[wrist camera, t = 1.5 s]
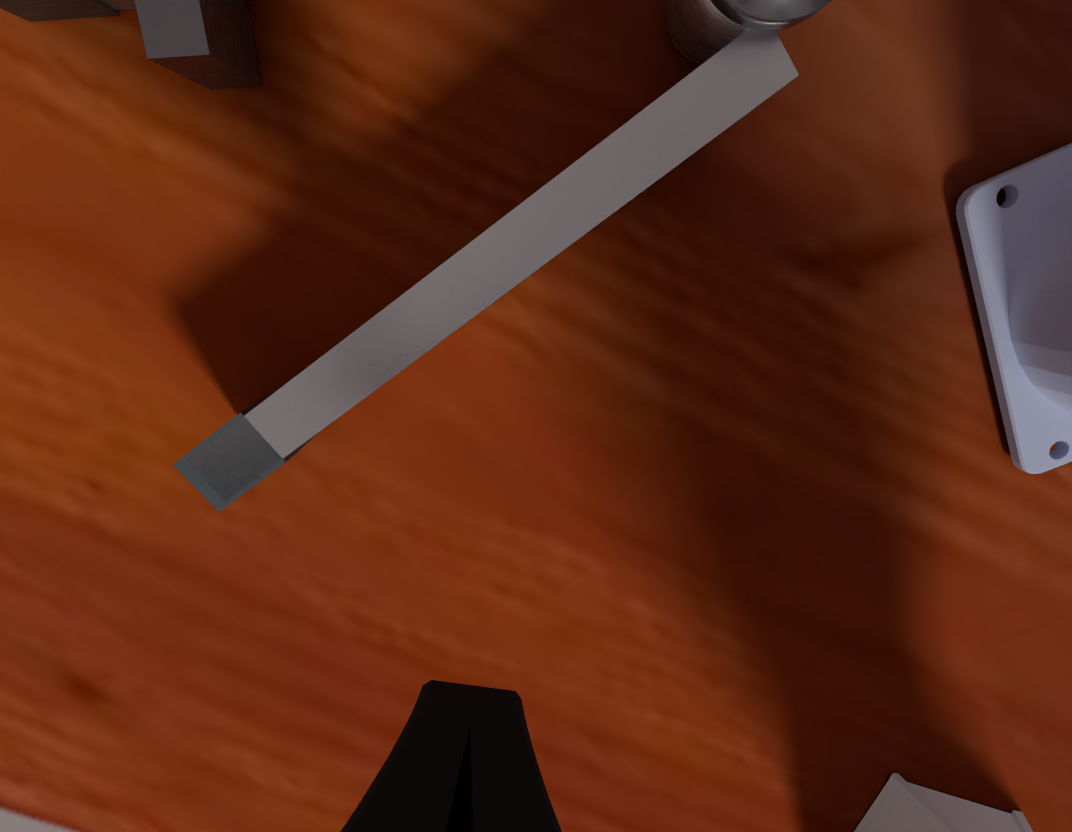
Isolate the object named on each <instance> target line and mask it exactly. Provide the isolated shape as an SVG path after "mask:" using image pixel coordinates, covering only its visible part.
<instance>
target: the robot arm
mask: <svg viewBox="0 0 1072 832" xmlns="http://www.w3.org/2000/svg"><path fill="white" fill-rule="evenodd" d="M1001 188H1004V190H1005V192H1006V199H1005V201H1004V202H1003V204H1002V205H1001V206H999V205H998V203H997V202H996V198H997V194H998V192H999V190H1000V189H1001ZM956 217H957V222H958V226H959V230H960V235H961V239H962V243H963V248H964V252H965V257H966V261H967V265H968V270H969V274H970V279H971V283H972V287H973V292H974V296H975V300H976V305H977V309H978V314H979V318H980V322H981V327H982V331H983V335H984V340H985V344H986V349H987V353H988V357H989V362H990V366H991V371H992V375H993V379H994V384H995V388H996V392H997V397H998V401H999V406H1000V410H1001V414H1002V419H1003V423H1004V428H1005V432H1006V436H1007V441H1008V445H1009V449H1010V454H1011V458H1012V461H1013V463H1014V465H1015V466H1016V467H1018V468H1019V469H1021V470H1023V471H1025V472H1027V473H1031V474H1038V473H1043V472H1045V471H1048V470H1050V469H1053V468H1056V467H1058V466H1061V465H1064V464H1066V463H1069V462H1071V461H1072V143H1070V144H1068V145H1065V146H1063V147H1061V148H1058V149H1056V150H1054V151H1051V152H1049V153H1047V154H1045V155H1042V156H1040V157H1038V158H1035V159H1033V160H1031V161H1029V162H1026V163H1024V164H1022V165H1019V166H1017V167H1015V168H1012V169H1010V170H1008V171H1006V172H1003V173H1001V174H999V175H996V176H994V177H992V178H990V179H987V180H985V181H983V182H980V183H978V184H976V185H973V186H971V187H970V188H968V189H967V190H965V191H964V192H963V194H962V195H961V196H960V197H959V199H958V202H957V205H956ZM1054 443H1056V447H1055V449H1054V450H1053V451H1052V452H1051V453H1049V450H1050V448H1051V446H1052V445H1053V444H1054ZM340 832H561V829H560V826H559V824H558V821H557V818H556V816H555V813H554V810H553V808H552V805H551V802H550V799H549V797H548V794H547V791H546V788H545V785H544V782H543V779H542V776H541V773H540V770H539V766H538V763H537V760H536V757H535V753H534V750H533V747H532V743H531V739H530V736H529V732H528V728H527V724H526V720H525V715H524V711H523V706H522V700H521V698H520V697H519V695H518V694H517V693H516V691H510V690H503V689H495V688H488V687H480V686H473V685H465V684H458V683H450V682H443V681H435V680H431V681H429V682H428V683H426V684H424V685H423V686H422V689H421V692H420V694H419V697H418V700H417V702H416V704H415V707H414V709H413V711H412V713H411V715H410V717H409V720H408V722H407V724H406V725H405V727H404V729H403V731H402V733H401V735H400V737H399V739H398V740H397V742H396V744H395V746H394V748H393V749H392V751H391V753H390V755H389V756H388V758H387V760H386V761H385V763H384V765H383V766H382V768H381V770H380V771H379V773H378V774H377V776H376V778H375V779H374V781H373V782H372V784H371V786H370V787H369V789H368V791H367V792H366V794H365V795H364V797H363V799H362V800H361V802H360V803H359V805H358V806H357V808H356V810H355V811H354V813H353V814H352V816H351V817H350V819H349V820H348V821H347V823H346V824H345V826H344V827H343V829H342V830H341V831H340Z"/></svg>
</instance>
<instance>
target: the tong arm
mask: <svg viewBox="0 0 1072 832" xmlns="http://www.w3.org/2000/svg"><path fill="white" fill-rule="evenodd" d="M666 25H667V29H668V33H669V36H670V38H671V40H672V42H673V44H674V46H675V47H676V48H677V50H678V51H679V52H680V53H681V54H682V55H683V56H684V57H685V58H687V59H688V60H690V61H692V62H694V63H696V64H700V65H701V66H699V67H698V68H697V69H695V70H694V71H693V72H691V73H690V74H689V75H688V76H686V77H685V78H684V79H682V80H681V81H680V82H678V83H677V84H676V85H674V86H673V87H672V88H671V89H669V90H668V91H667V92H665V93H664V94H663V95H661V96H660V97H659V98H658V99H656V100H655V101H654V102H652V103H651V104H650V105H648V106H647V107H646V108H645V109H643V110H642V111H641V112H639V113H638V114H637V115H635V116H634V117H633V118H632V119H630V120H629V121H628V122H626V123H625V124H624V125H622V126H621V127H620V128H618V129H617V130H616V131H615V132H613V133H612V134H611V135H609V136H608V137H607V138H605V139H604V140H603V141H602V142H600V143H599V144H598V145H596V146H595V147H594V148H592V149H591V150H590V151H589V152H587V153H586V154H585V155H583V156H582V157H581V158H579V159H578V160H577V161H576V162H574V163H573V164H572V165H570V166H569V167H568V168H566V169H565V170H564V171H562V172H561V173H560V174H559V175H557V176H556V177H555V178H553V179H552V180H551V181H549V182H548V183H547V184H546V185H544V186H543V187H542V188H540V189H539V190H538V191H536V192H535V193H534V194H533V195H531V196H530V197H529V198H527V199H526V200H525V201H523V202H522V203H521V204H519V205H518V206H517V207H516V208H514V209H513V210H512V211H510V212H509V213H508V214H506V215H505V216H504V217H503V218H501V219H500V220H499V221H497V222H496V223H495V224H493V225H492V226H491V227H490V228H488V229H487V230H486V231H484V232H483V233H482V234H480V235H479V236H478V237H477V238H475V239H474V240H473V241H471V242H470V243H469V244H467V245H466V246H465V247H463V248H462V249H461V250H460V251H458V252H457V253H456V254H454V255H453V256H452V257H450V258H449V259H448V260H447V261H445V262H444V263H443V264H441V265H440V266H439V267H437V268H436V269H435V270H434V271H432V272H431V273H430V274H428V275H427V276H426V277H424V278H423V279H422V280H421V281H419V282H418V283H417V284H415V285H414V286H413V287H411V288H410V289H409V290H407V291H406V292H405V293H404V294H402V295H401V296H400V297H398V298H397V299H396V300H394V301H393V302H392V303H391V304H389V305H388V306H387V307H385V308H384V309H383V310H381V311H380V312H379V313H378V314H376V315H375V316H374V317H372V318H371V319H370V320H368V321H367V322H366V323H365V324H363V325H362V326H361V327H359V328H358V329H357V330H355V331H354V332H353V333H351V334H350V335H349V336H348V337H346V338H345V339H344V340H342V341H341V342H340V343H338V344H337V345H336V346H335V347H333V348H332V349H331V350H329V351H328V352H327V353H325V354H324V355H323V356H322V357H320V358H319V359H318V360H316V361H315V362H314V363H312V364H311V365H310V366H308V367H307V368H306V369H305V370H303V371H302V372H301V373H299V374H298V375H297V376H295V377H294V378H293V379H292V380H290V381H289V382H288V383H286V384H285V385H284V386H282V387H281V388H280V389H279V390H277V391H276V392H274V393H272V394H271V395H269V396H267V397H266V398H264V399H262V400H261V401H259V402H257V403H256V404H254V405H252V406H250V407H249V408H247V409H245V410H244V411H242V412H241V413H239V414H238V415H237V416H235V417H234V418H233V419H231V420H230V421H229V422H228V423H226V424H225V425H224V426H222V427H221V428H220V429H218V430H217V431H216V432H215V433H213V434H212V435H211V436H209V437H208V438H207V439H205V440H204V441H203V442H202V443H200V444H199V445H198V446H196V447H195V448H194V449H192V450H191V451H190V452H189V453H187V454H186V455H185V456H183V457H182V458H181V459H179V460H178V461H177V462H176V463H174V464H173V465H174V466H175V467H176V468H177V469H178V470H179V471H180V472H181V473H182V475H183V476H184V477H185V478H186V479H187V480H188V481H189V482H190V483H191V484H192V485H193V486H194V487H195V488H196V489H197V490H198V491H199V492H200V493H201V494H202V495H203V496H204V497H205V498H206V499H207V500H208V502H209V503H210V504H211V505H212V506H213V507H214V508H215V509H216V510H217V511H218V512H219V511H221V510H222V509H224V508H225V507H226V506H228V505H229V504H230V503H232V502H233V501H234V500H236V499H237V498H238V497H240V496H241V495H242V494H244V493H245V492H246V491H248V490H249V489H251V488H252V487H253V486H255V485H256V484H257V483H259V482H260V481H261V480H263V479H264V478H265V477H267V476H268V475H269V474H271V473H272V472H273V471H275V470H276V469H277V468H279V467H280V466H282V465H283V464H284V463H286V462H287V461H288V460H289V459H290V458H291V457H292V456H293V455H294V454H295V453H297V452H298V451H299V450H300V449H301V448H302V447H303V446H304V445H305V444H306V443H307V442H308V441H310V440H311V439H312V438H313V437H314V436H315V435H316V434H317V433H318V432H319V431H321V430H322V429H323V428H325V427H326V426H328V425H329V424H330V423H332V422H333V421H334V420H336V419H337V418H338V417H340V416H341V415H342V414H344V413H345V412H346V411H348V410H349V409H350V408H352V407H353V406H354V405H356V404H357V403H358V402H360V401H361V400H363V399H364V398H365V397H367V396H368V395H369V394H371V393H372V392H373V391H375V390H376V389H377V388H379V387H380V386H381V385H383V384H384V383H385V382H387V381H388V380H389V379H391V378H392V377H393V376H395V375H396V374H397V373H399V372H400V371H402V370H403V369H404V368H406V367H407V366H408V365H410V364H411V363H412V362H414V361H415V360H416V359H418V358H419V357H420V356H422V355H423V354H424V353H426V352H427V351H428V350H430V349H431V348H432V347H434V346H435V345H437V344H438V343H439V342H441V341H442V340H443V339H445V338H446V337H447V336H449V335H450V334H451V333H453V332H454V331H455V330H457V329H458V328H459V327H461V326H462V325H463V324H465V323H466V322H467V321H469V320H470V319H471V318H473V317H474V316H476V315H477V314H478V313H480V312H481V311H482V310H484V309H485V308H486V307H488V306H489V305H490V304H492V303H493V302H494V301H496V300H497V299H498V298H500V297H501V296H502V295H504V294H505V293H506V292H508V291H509V290H511V289H512V288H513V287H515V286H516V285H517V284H519V283H520V282H521V281H523V280H524V279H525V278H527V277H528V276H529V275H531V274H532V273H533V272H535V271H536V270H537V269H539V268H540V267H541V266H543V265H544V264H545V263H547V262H548V261H550V260H551V259H552V258H554V257H555V256H556V255H558V254H559V253H560V252H562V251H563V250H564V249H566V248H567V247H568V246H570V245H571V244H572V243H574V242H575V241H576V240H578V239H579V238H580V237H582V236H583V235H584V234H586V233H587V232H589V231H590V230H591V229H593V228H594V227H595V226H597V225H598V224H599V223H601V222H602V221H603V220H605V219H606V218H607V217H609V216H610V215H611V214H613V213H614V212H615V211H617V210H618V209H619V208H621V207H622V206H624V205H625V204H626V203H628V202H629V201H630V200H632V199H633V198H634V197H636V196H637V195H638V194H640V193H641V192H642V191H644V190H645V189H646V188H648V187H649V186H650V185H652V184H653V183H654V182H656V181H657V180H658V179H660V178H661V177H663V176H664V175H665V174H667V173H668V172H669V171H671V170H672V169H673V168H675V167H676V166H677V165H679V164H680V163H681V162H683V161H684V160H685V159H687V158H688V157H689V156H691V155H692V154H693V153H695V152H696V151H698V150H699V149H700V148H702V147H703V146H704V145H706V144H707V143H708V142H710V141H711V140H712V139H714V138H715V137H716V136H718V135H719V134H720V133H722V132H723V131H724V130H726V129H727V128H728V127H730V126H731V125H732V124H734V123H735V122H737V121H738V120H739V119H741V118H742V117H743V116H745V115H746V114H747V113H749V112H750V111H751V110H753V109H754V108H755V107H757V106H758V105H759V104H761V103H762V102H763V101H765V100H766V99H767V98H769V97H770V96H771V95H773V94H774V93H776V92H777V91H778V90H780V89H781V88H782V87H784V86H785V85H786V84H788V83H789V82H790V81H792V80H793V79H794V78H796V77H797V76H798V75H799V74H798V72H797V70H796V68H795V66H794V65H793V63H792V61H791V59H790V57H789V55H788V53H787V51H786V49H785V48H784V46H783V44H782V42H781V40H780V38H779V36H778V34H777V32H776V31H775V30H773V31H761V30H755V29H750V28H747V27H744V26H741V25H739V24H737V23H735V22H733V21H731V20H730V19H729V18H727V17H726V16H724V15H723V14H722V13H721V12H720V11H719V10H718V9H717V8H716V7H715V6H714V5H713V3H712V2H711V1H710V0H667V3H666Z"/></svg>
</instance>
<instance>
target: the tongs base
mask: <svg viewBox="0 0 1072 832" xmlns="http://www.w3.org/2000/svg"><path fill="white" fill-rule="evenodd" d="M247 1H253V0H0V8H1V9H3V10H5V11H8V12H10V13H12V14H14V15H17V16H19V17H21V18H23V19H26V20H28V21H30V22H31V21H45V20H59V19H73V18H87V17H101V16H115V15H119V13H118V10H127V9H137V14H138V18H139V23H140V27H141V32H142V36H143V41H144V45H145V50H146V54H147V59H149V60H151V61H153V62H155V63H157V64H159V65H161V66H163V67H165V68H167V69H170V70H172V71H174V72H176V73H178V74H180V75H182V76H184V77H186V78H188V79H190V80H192V81H194V82H196V83H198V84H201V85H203V86H205V87H207V88H209V89H222V88H236V87H250V86H262V82H261V76H260V71H259V65H258V59H257V53H256V48H255V42H254V36H253V31H252V25H251V19H250V13H249V8H248V2H247ZM710 1H711V2H712V3H713V5H714V6H715V7H716V8H717V9H718V10H719V11H720V12H721V13H722V14H723V15H724V16H726V17H727V18H729V19H730V20H731V21H733V22H735V23H737V24H739V25H741V26H744V27H747V28H750V29H755V30H761V31H773V30H780V29H784V28H788V27H791V26H794V25H796V24H798V23H801V22H803V21H804V20H806V19H808V18H809V17H811V16H813V15H814V14H815V13H816V12H818V11H819V10H820V9H821V8H823V7H824V6H825V5H826V4H828V3H829V2H830V1H831V0H710Z"/></svg>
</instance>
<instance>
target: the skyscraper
mask: <svg viewBox="0 0 1072 832" xmlns="http://www.w3.org/2000/svg"><path fill="white" fill-rule="evenodd" d="M854 832H1033V831H1032V829H1031V827H1030V825H1029V824H1028V822H1027V820H1026V818H1025V816H1024V815H1023V813H1022V812H1019V811H1016V810H1013V811H1012V812H1011V814H1010V813H1007V812H1004V811H1001V810H997V809H994V808H991V807H987V806H984V805H981V804H978V803H974V802H971V801H968V800H965V799H961V798H958V797H955V796H951V795H948V794H945V793H942V792H938V791H935V790H932V789H928V788H925V787H922V786H919V785H915V784H912V783H909V782H907V781H905V780H904V779H903V778H902V777H901V776H900V775H899V774H898V773H893V774H892V775H891V776H890V778H889V780H888V782H887V783H886V785H885V786H884V788H883V789H882V791H881V792H880V794H879V795H878V797H877V798H876V800H875V801H874V803H873V804H872V806H871V807H870V809H869V810H868V812H867V813H866V815H865V816H864V818H863V819H862V821H861V822H860V823H859V825H858V826H857V828H856V829H855V831H854Z"/></svg>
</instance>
